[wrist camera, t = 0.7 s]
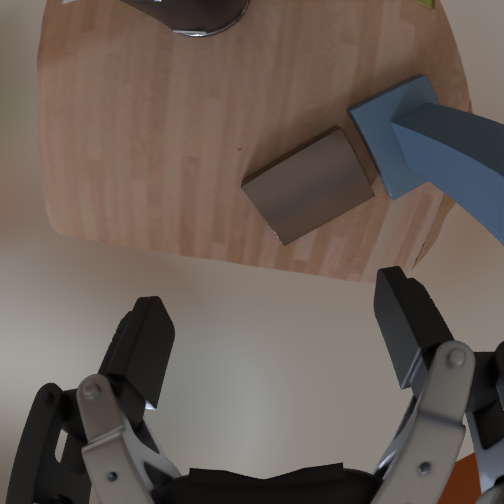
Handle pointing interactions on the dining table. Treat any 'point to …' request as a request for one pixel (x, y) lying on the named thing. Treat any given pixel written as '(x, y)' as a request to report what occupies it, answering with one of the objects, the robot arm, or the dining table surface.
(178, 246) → the dining table surface
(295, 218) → the pad
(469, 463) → the orange toy mallet
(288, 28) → the dining table surface
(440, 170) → the stand
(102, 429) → the robot arm
